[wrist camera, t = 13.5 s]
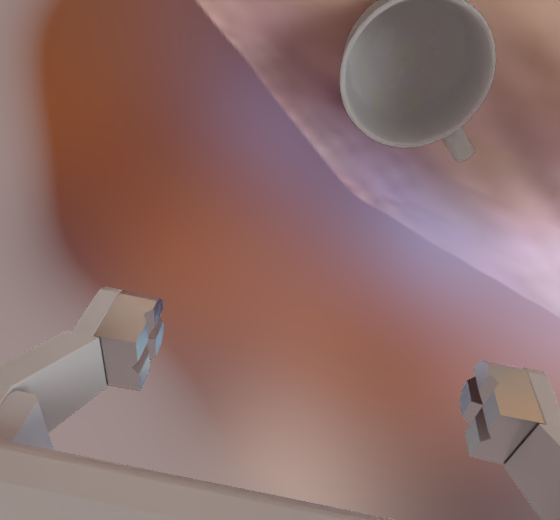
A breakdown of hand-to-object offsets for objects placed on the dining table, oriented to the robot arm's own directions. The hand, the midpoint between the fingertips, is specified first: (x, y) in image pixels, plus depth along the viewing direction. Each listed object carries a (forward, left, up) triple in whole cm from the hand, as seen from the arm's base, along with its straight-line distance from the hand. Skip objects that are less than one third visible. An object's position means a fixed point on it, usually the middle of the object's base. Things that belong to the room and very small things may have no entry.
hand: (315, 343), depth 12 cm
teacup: (-6, +2, -35) cm, 36 cm away
